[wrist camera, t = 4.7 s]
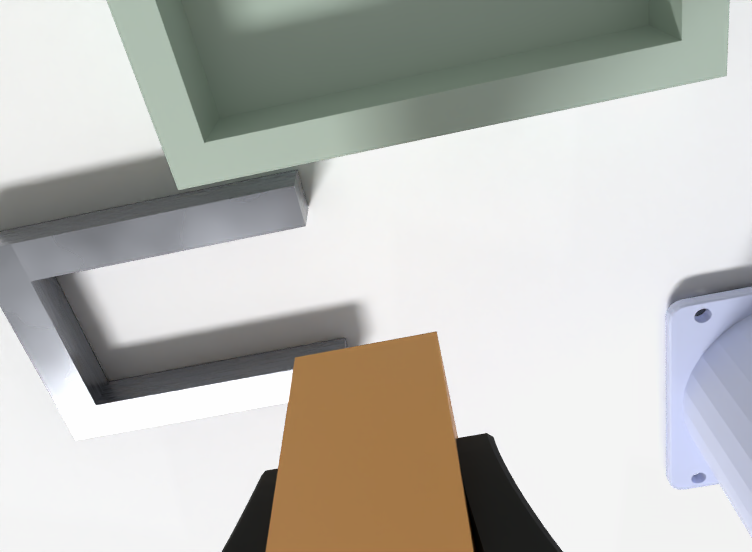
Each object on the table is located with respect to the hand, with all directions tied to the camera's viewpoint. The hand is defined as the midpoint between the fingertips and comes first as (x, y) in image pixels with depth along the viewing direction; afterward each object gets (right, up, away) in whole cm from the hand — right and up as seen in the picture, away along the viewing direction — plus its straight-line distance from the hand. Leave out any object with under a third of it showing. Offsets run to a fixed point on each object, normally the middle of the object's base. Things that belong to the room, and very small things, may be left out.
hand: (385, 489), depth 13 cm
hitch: (-6, +3, +8) cm, 10 cm away
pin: (0, +1, +2) cm, 2 cm away
